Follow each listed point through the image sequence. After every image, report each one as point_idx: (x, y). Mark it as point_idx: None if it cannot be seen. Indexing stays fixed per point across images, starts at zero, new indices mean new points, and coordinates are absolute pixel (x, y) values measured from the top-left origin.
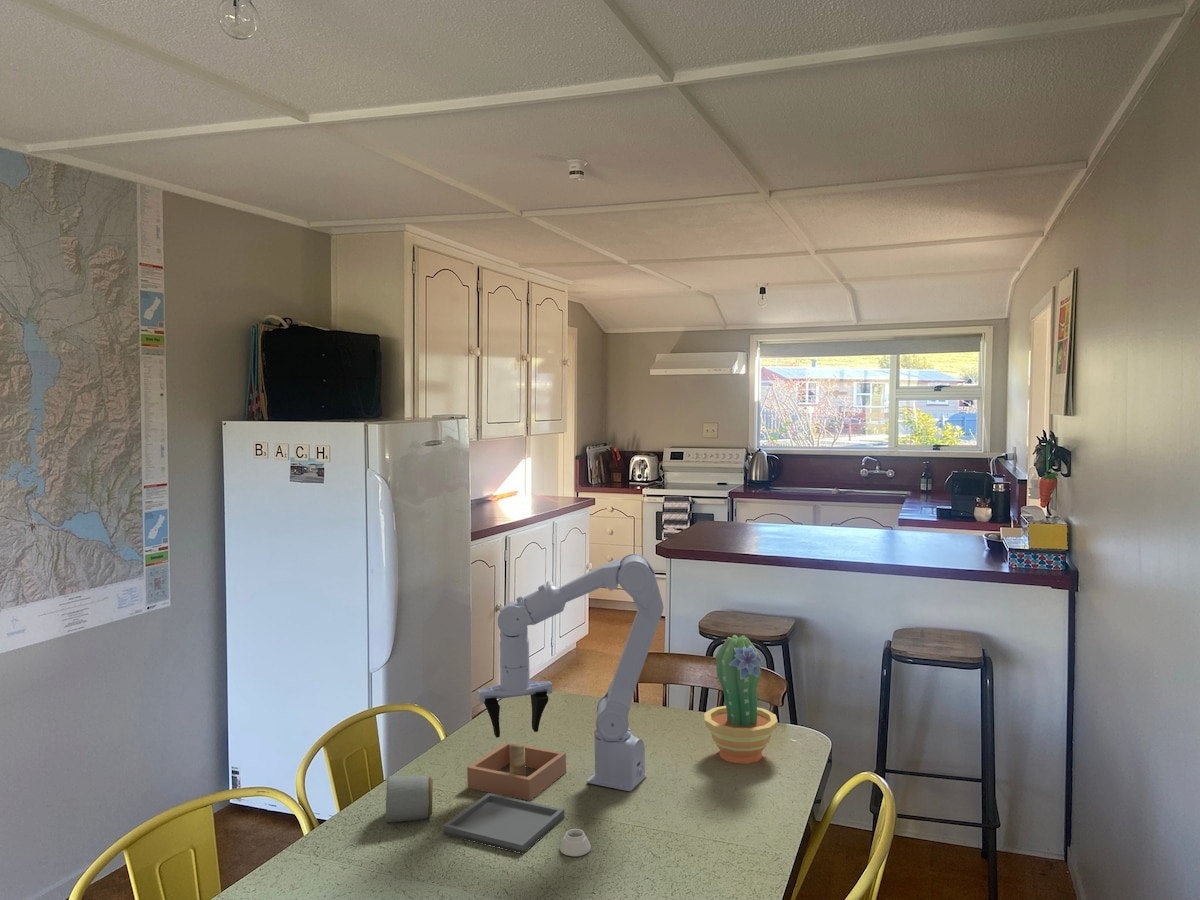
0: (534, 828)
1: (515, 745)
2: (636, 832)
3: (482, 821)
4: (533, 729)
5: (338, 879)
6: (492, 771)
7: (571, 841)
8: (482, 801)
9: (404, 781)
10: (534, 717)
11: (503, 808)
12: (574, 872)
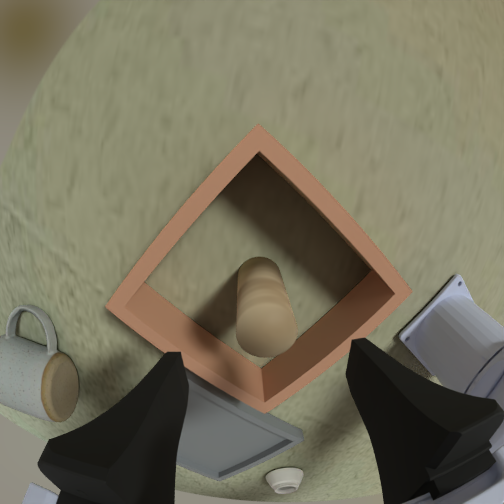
0: (245, 452)
1: (259, 337)
2: (367, 453)
3: None
4: (349, 361)
5: (38, 430)
6: None
7: (278, 489)
8: None
9: (17, 409)
10: (370, 407)
11: (202, 403)
12: (268, 491)
